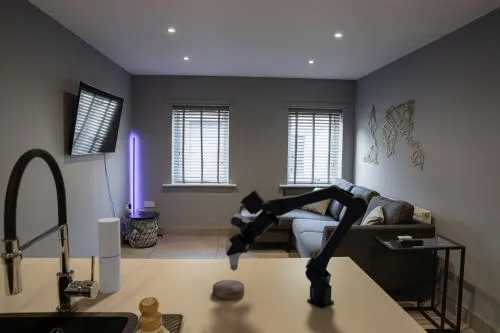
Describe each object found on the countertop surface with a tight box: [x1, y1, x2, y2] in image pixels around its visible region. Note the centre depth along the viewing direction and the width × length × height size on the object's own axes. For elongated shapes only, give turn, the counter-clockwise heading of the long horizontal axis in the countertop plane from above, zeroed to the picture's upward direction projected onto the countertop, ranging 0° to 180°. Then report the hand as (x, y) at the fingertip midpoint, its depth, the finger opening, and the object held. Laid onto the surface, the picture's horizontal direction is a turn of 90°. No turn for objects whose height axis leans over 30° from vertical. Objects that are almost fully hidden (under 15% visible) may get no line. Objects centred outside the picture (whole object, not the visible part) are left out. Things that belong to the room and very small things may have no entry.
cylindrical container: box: [97, 216, 122, 294], centre depth 123 cm, size 7×7×25 cm
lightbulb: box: [225, 241, 242, 272], centre depth 125 cm, size 6×6×11 cm
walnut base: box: [212, 279, 245, 301], centre depth 122 cm, size 11×11×2 cm
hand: (230, 252), depth 125 cm, fingers closed on lightbulb, 6 cm apart
